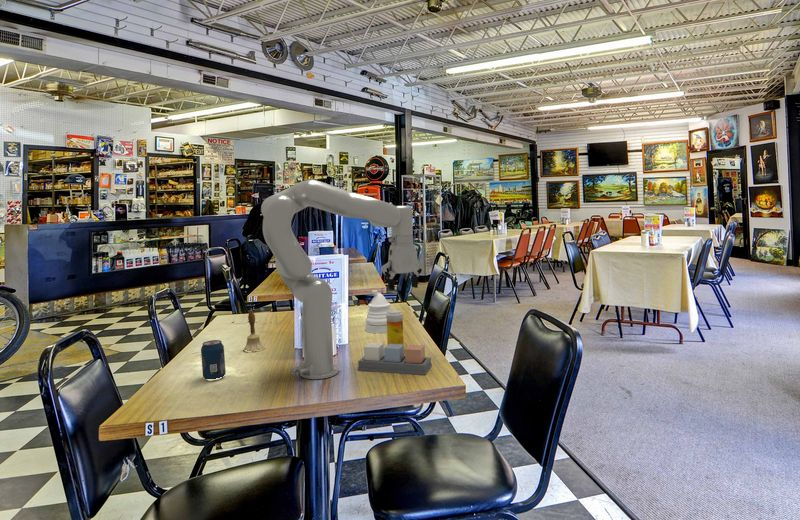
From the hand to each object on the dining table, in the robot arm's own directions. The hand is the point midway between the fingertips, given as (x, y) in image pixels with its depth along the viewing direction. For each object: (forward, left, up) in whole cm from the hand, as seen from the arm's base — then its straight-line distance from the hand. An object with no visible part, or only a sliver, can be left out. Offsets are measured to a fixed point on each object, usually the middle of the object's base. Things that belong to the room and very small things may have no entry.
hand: (403, 288), depth 166 cm
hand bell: (-33, +52, -25) cm, 67 cm away
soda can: (-57, +30, -25) cm, 70 cm away
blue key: (-11, -7, -22) cm, 26 cm away
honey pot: (+20, +37, -25) cm, 49 cm away
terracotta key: (-8, -13, -22) cm, 27 cm away
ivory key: (-15, -1, -22) cm, 26 cm away
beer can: (+3, +8, -25) cm, 26 cm away
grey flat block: (-11, -7, -25) cm, 28 cm away
